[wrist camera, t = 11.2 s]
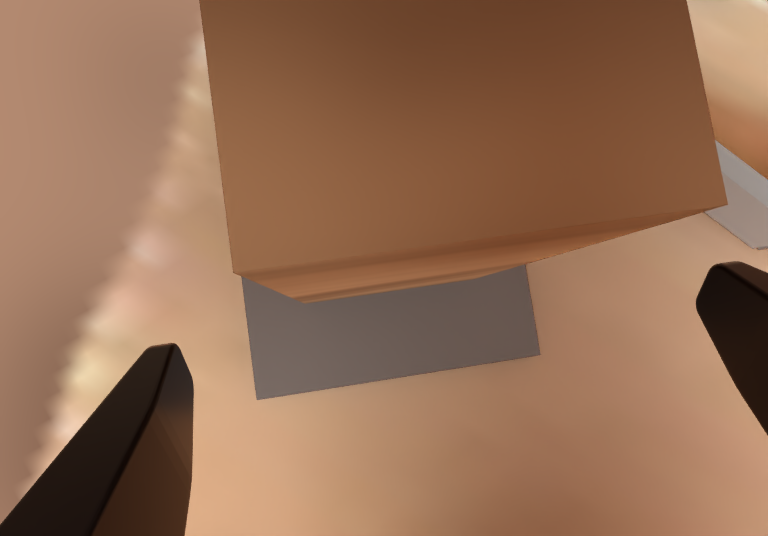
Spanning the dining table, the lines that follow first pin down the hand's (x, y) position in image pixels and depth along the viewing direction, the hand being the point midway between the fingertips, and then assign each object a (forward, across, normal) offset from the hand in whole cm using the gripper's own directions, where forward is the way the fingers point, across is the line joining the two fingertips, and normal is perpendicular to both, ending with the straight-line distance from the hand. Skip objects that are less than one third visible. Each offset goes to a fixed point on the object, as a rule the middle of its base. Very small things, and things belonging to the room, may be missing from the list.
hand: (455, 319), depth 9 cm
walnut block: (+10, 0, +4) cm, 11 cm away
